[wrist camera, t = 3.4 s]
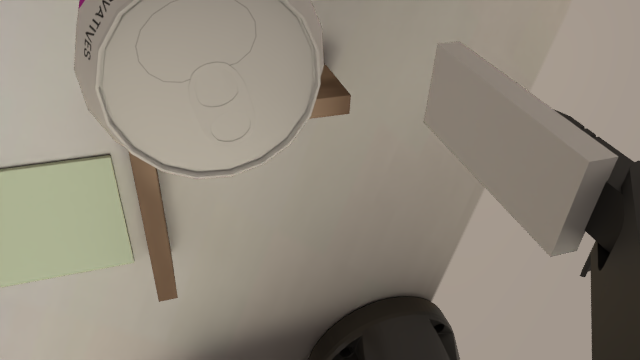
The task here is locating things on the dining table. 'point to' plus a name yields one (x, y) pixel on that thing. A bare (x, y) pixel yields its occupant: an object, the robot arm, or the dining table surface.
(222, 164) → the supplement can
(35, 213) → the pad
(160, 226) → the channel walls
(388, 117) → the dining table surface
